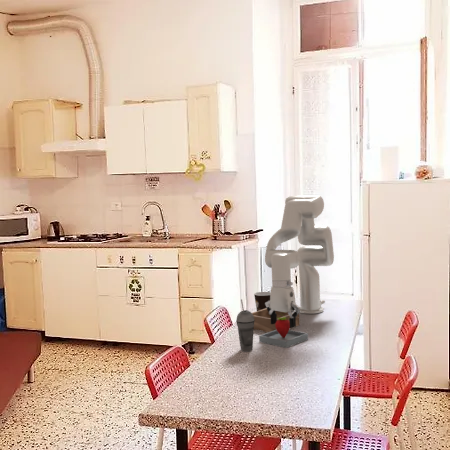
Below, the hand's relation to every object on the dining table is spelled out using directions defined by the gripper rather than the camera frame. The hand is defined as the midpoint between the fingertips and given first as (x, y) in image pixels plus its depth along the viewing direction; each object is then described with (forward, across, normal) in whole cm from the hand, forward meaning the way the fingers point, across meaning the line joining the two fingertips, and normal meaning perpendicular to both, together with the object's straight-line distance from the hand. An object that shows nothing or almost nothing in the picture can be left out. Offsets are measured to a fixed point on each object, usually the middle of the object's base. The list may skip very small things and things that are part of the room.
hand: (283, 325), depth 240 cm
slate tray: (+6, 0, 0) cm, 6 cm away
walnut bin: (+6, +17, -14) cm, 23 cm away
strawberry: (+6, 0, 0) cm, 6 cm away
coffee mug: (+6, +36, -30) cm, 47 cm away
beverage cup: (+6, +4, +18) cm, 20 cm away
